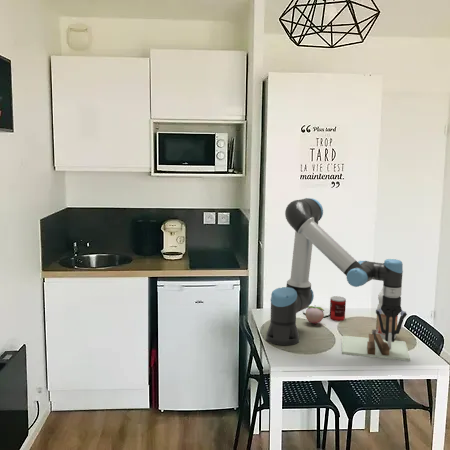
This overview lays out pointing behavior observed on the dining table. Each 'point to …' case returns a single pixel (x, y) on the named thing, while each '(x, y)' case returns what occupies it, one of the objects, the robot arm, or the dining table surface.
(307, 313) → the decorative fruit
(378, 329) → the fruit juice
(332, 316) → the canned food
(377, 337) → the arm
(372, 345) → the tongs fixed
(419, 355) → the dining table surface
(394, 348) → the board
